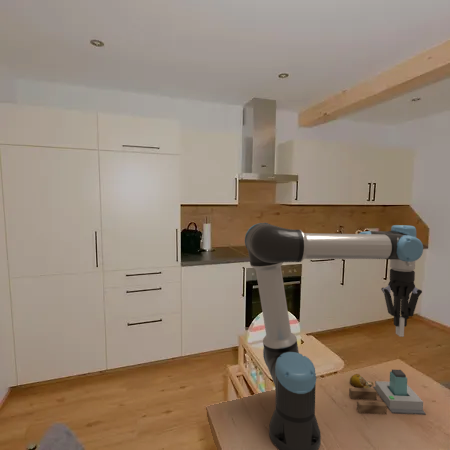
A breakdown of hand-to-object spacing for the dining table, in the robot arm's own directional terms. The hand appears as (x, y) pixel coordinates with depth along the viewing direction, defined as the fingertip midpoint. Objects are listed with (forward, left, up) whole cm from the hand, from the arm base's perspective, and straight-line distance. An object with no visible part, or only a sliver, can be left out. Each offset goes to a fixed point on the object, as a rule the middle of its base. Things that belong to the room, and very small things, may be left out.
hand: (399, 334), depth 103 cm
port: (0, 0, -24) cm, 24 cm away
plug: (0, 0, -24) cm, 24 cm away
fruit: (-9, +8, -25) cm, 27 cm away
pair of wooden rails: (-12, -3, -24) cm, 27 cm away
